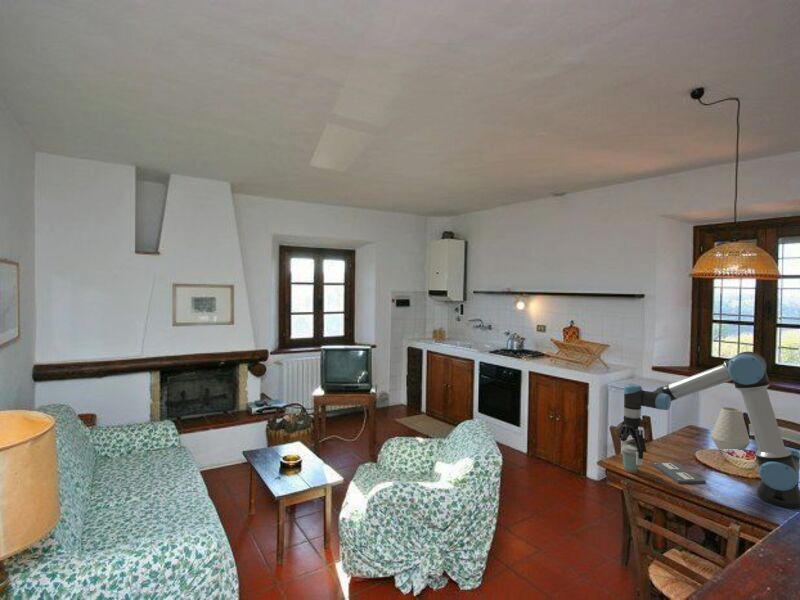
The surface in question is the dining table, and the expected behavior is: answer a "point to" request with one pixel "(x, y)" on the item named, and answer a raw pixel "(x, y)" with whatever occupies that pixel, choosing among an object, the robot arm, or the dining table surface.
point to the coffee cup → (629, 458)
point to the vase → (730, 430)
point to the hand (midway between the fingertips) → (631, 459)
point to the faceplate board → (678, 473)
